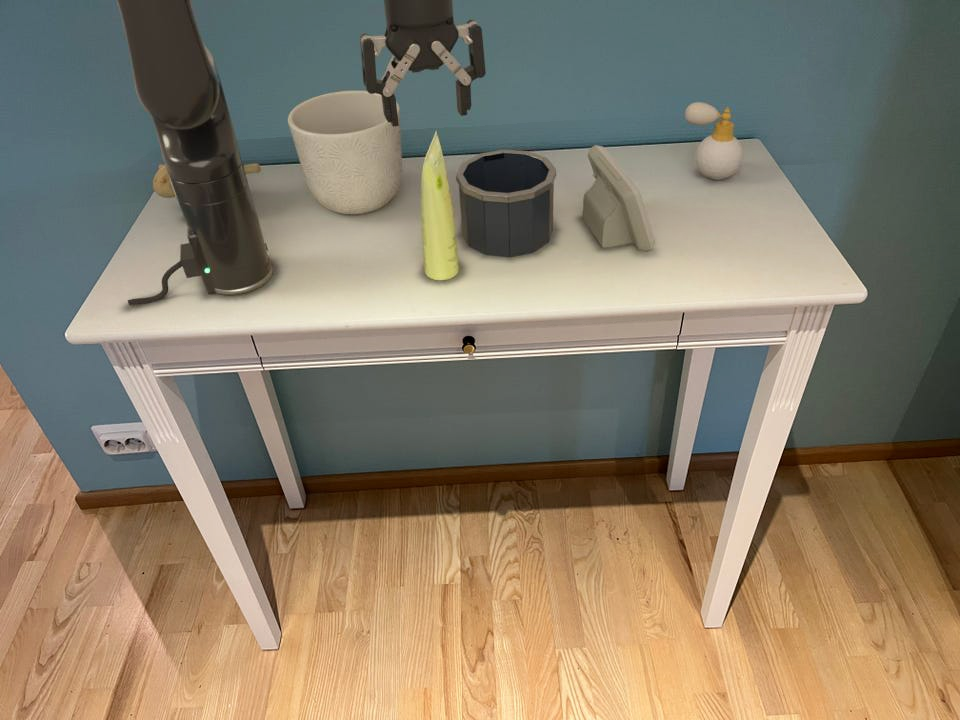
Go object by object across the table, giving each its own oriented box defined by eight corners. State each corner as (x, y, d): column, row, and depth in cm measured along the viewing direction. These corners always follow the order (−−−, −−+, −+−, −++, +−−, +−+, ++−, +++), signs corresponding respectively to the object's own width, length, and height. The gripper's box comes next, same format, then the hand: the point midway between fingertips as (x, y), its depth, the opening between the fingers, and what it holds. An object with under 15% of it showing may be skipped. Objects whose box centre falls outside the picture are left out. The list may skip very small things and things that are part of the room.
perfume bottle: (745, 184, 120) (760, 113, 112) (686, 189, 119) (697, 117, 112) (730, 163, 125) (743, 94, 117) (674, 168, 125) (683, 98, 117)
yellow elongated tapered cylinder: (468, 275, 104) (460, 145, 91) (437, 288, 102) (424, 157, 89) (447, 257, 107) (436, 130, 95) (417, 269, 106) (402, 141, 93)
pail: (476, 265, 106) (472, 203, 99) (451, 218, 116) (446, 159, 109) (567, 247, 108) (569, 185, 101) (535, 202, 118) (535, 143, 112)
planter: (384, 234, 113) (370, 140, 103) (288, 219, 118) (266, 129, 108) (425, 182, 125) (416, 94, 115) (336, 171, 130) (320, 86, 120)
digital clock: (656, 256, 105) (665, 189, 98) (593, 260, 105) (597, 193, 98) (634, 200, 117) (641, 137, 110) (578, 204, 117) (581, 141, 110)
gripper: (470, -42, 83) (475, 99, 94) (345, -28, 80) (365, 115, 91) (489, -27, 78) (493, 121, 88) (355, -11, 75) (376, 140, 86)
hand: (428, 118), depth 90 cm, fingers open, 8 cm apart
